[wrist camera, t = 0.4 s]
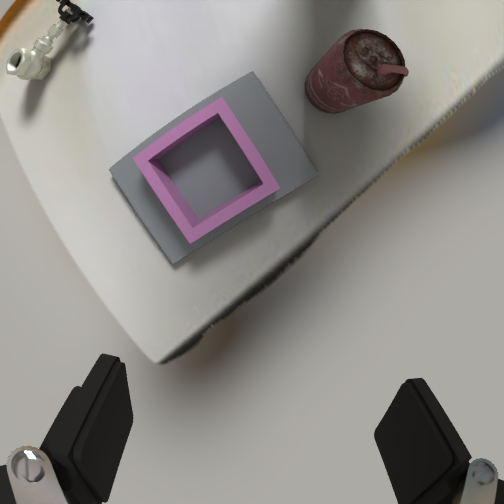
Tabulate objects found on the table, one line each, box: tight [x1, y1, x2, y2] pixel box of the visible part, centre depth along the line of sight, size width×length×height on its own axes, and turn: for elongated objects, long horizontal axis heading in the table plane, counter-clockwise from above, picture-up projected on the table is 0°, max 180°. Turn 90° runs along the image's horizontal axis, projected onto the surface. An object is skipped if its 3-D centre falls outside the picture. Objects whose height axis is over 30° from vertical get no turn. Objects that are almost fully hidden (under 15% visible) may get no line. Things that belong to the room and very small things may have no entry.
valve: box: [6, 0, 94, 80], centre depth 24 cm, size 7×7×12 cm
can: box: [305, 29, 408, 113], centre depth 25 cm, size 6×6×14 cm
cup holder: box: [109, 71, 318, 264], centre depth 32 cm, size 20×14×6 cm
